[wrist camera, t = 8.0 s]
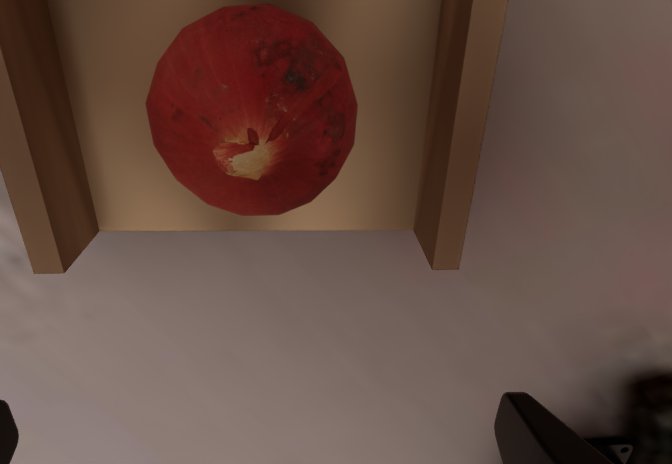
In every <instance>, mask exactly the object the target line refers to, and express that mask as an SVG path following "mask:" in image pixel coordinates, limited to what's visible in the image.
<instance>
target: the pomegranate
mask: <svg viewBox="0 0 672 464" xmlns="http://www.w3.org/2000/svg"><path fill="white" fill-rule="evenodd" d="M145 105H146V110H147V115H148V119H149V124H150V129H151V134H152V139H153V144H154V146H155V148H156V150H157V151H158V153H159V154H160V156H161V157H162V159H163V160H164V162H165V163H166V165H167V167H168V168H169V170H170V171H171V173H172V174H173V176H174V177H175V179H176V180H177V181H178V182H180V183H181V184H182V185H183V186H185V187H186V188H187V189H188V190H190V191H191V192H192V193H193V194H195V195H196V196H197V197H199V198H200V199H201V200H202V201H204V202H205V203H206V204H208V205H211V206H214V207H217V208H220V209H223V210H226V211H229V212H232V213H235V214H238V215H241V216H267V215H281V214H283V213H286V212H288V211H290V210H293V209H295V208H298V207H300V206H303V205H305V204H308V203H310V202H312V201H313V200H314V199H315V198H316V197H317V196H318V195H319V194H320V193H321V192H322V191H323V190H324V189H325V188H326V187H328V186H329V185H330V184H331V183H332V182H333V181H334V180H335V179H336V177H337V176H338V174H339V172H340V170H341V168H342V166H343V165H344V163H345V161H346V159H347V157H348V155H349V153H350V151H351V150H352V148H353V146H354V141H355V131H356V120H357V109H358V104H357V100H356V97H355V93H354V90H353V87H352V83H351V80H350V76H349V73H348V69H347V66H346V63H345V59H344V57H343V56H342V55H341V54H340V52H339V51H338V50H337V49H336V48H335V47H334V46H333V45H332V43H331V42H330V41H329V40H328V39H327V38H326V37H325V36H324V34H323V33H322V32H321V31H320V30H319V29H318V28H317V26H316V25H315V24H314V23H313V22H311V21H309V20H307V19H304V18H302V17H300V16H297V15H295V14H293V13H290V12H288V11H285V10H283V9H281V8H278V7H276V6H274V5H271V4H269V3H266V4H252V5H237V6H224V7H222V8H220V9H218V10H216V11H214V12H212V13H210V14H208V15H206V16H204V17H202V18H201V19H199V20H197V21H195V22H193V23H191V24H189V25H187V26H185V27H184V28H182V29H181V31H180V32H179V33H178V35H177V36H176V38H175V39H174V40H173V42H172V43H171V44H170V46H169V47H168V48H167V50H166V51H165V53H164V54H163V55H162V57H161V58H160V59H159V61H158V62H157V65H156V69H155V72H154V76H153V79H152V82H151V86H150V89H149V93H148V96H147V100H146V103H145Z"/></svg>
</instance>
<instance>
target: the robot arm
mask: <svg viewBox="0 0 672 464" xmlns="http://www.w3.org/2000/svg"><path fill="white" fill-rule="evenodd" d="M494 430H495V436H496V440H497V444H498V447H499V451H500V455H501V458H502V462H503V464H626V462H627V460H628V458H629V456H630V454H631V452H632V450H633V447H632V445H631V444H630V442H629V441H628V440H627V439H602V440H584V439H583V438H581V437H580V436H579V435H578V434H577V433H575V432H574V431H573V430H572V429H570V428H569V427H568V426H567V425H566V424H564V423H563V422H562V421H561V420H559V419H558V418H557V417H556V416H555V415H553V414H552V413H551V412H550V411H548V410H547V409H546V408H545V407H544V406H542V405H541V404H540V403H539V402H538V401H536V400H535V399H534V398H533V397H531V396H530V395H529V394H527V393H525V392H506V393H504V394H503V395H502V398H501V401H500V405H499V408H498V412H497V415H496V419H495V424H494ZM18 438H19V434H18V429H17V426H16V424H15V421H14V419H13V416H12V413H11V411H10V408H9V405H8V404H7V403H6V402H5V401H4V400H0V464H10V461H11V459H12V457H13V454H14V452H15V449H16V447H17V443H18Z"/></svg>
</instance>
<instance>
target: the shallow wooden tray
mask: <svg viewBox="0 0 672 464" xmlns="http://www.w3.org/2000/svg"><path fill="white" fill-rule="evenodd" d="M266 3H269V4H271V5H274V6H276V7H278V8H281V9H283V10H285V11H288V12H290V13H293V14H295V15H297V16H300V17H302V18H304V19H307V20H309V21H311V22H313V23H314V24H315V25H316V26H317V28H318V29H319V30H320V31H321V32H322V33H323V34H324V36H325V37H326V38H327V39H328V40H329V41H330V42H331V43H332V45H333V46H334V47H335V48H336V49H337V50H338V51H339V52H340V54H341V55H342V56H343V57H344V59H345V63H346V66H347V69H348V73H349V76H350V80H351V83H352V87H353V90H354V93H355V97H356V100H357V104H358V109H357V120H356V131H355V141H354V146H353V148H352V150H351V151H350V153H349V155H348V157H347V159H346V161H345V163H344V165H343V166H342V168H341V170H340V172H339V174H338V176H337V177H336V179H335V180H334V181H333V182H332V183H331V184H330V185H329V186H328V187H326V188H325V189H324V190H323V191H322V192H321V193H320V194H319V195H318V196H317V197H316V198H315V199H314V200H313V201H312V202H310V203H308V204H305V205H303V206H300V207H298V208H295V209H293V210H290V211H288V212H286V213H283V214H281V215H267V216H241V215H238V214H235V213H232V212H229V211H226V210H223V209H220V208H217V207H214V206H211V205H208V204H206V203H205V202H204V201H202V200H201V199H200V198H199V197H197V196H196V195H195V194H193V193H192V192H191V191H190V190H188V189H187V188H186V187H185V186H183V185H182V184H181V183H180V182H178V181H177V180H176V179H175V177H174V176H173V174H172V173H171V171H170V170H169V168H168V167H167V165H166V163H165V162H164V160H163V159H162V157H161V156H160V154H159V153H158V151H157V150H156V148H155V146H154V144H153V139H152V134H151V129H150V124H149V119H148V115H147V110H146V105H145V103H146V100H147V96H148V93H149V89H150V86H151V82H152V79H153V76H154V72H155V69H156V65H157V62H158V61H159V59H160V58H161V57H162V55H163V54H164V53H165V51H166V50H167V48H168V47H169V46H170V44H171V43H172V42H173V40H174V39H175V38H176V36H177V35H178V33H179V32H180V31H181V29H182V28H184V27H185V26H187V25H189V24H191V23H193V22H195V21H197V20H199V19H201V18H202V17H204V16H206V15H208V14H210V13H212V12H214V11H216V10H218V9H220V8H222V7H224V6H237V5H252V4H266ZM507 3H508V0H0V168H1V171H2V175H3V178H4V181H5V184H6V187H7V190H8V194H9V197H10V200H11V203H12V206H13V209H14V212H15V216H16V219H17V222H18V225H19V228H20V231H21V234H22V238H23V241H24V244H25V247H26V250H27V253H28V257H29V260H30V263H31V266H32V269H33V272H34V274H59V273H65V272H66V271H67V269H68V268H69V267H70V266H71V265H72V263H73V262H74V261H75V260H76V259H77V257H78V256H79V255H80V254H81V253H82V251H83V250H84V249H85V248H86V247H87V245H88V244H89V243H90V242H91V241H92V239H93V238H94V237H95V236H96V235H97V233H98V232H99V231H259V230H414V232H415V234H416V237H417V239H418V241H419V243H420V245H421V247H422V249H423V251H424V253H425V255H426V258H427V260H428V262H429V264H430V266H431V268H432V270H459V266H460V261H461V255H462V250H463V244H464V239H465V233H466V228H467V222H468V217H469V211H470V206H471V200H472V195H473V189H474V184H475V178H476V173H477V167H478V162H479V157H480V151H481V146H482V140H483V135H484V129H485V124H486V118H487V113H488V107H489V102H490V96H491V91H492V85H493V80H494V74H495V69H496V63H497V58H498V52H499V47H500V41H501V36H502V30H503V25H504V19H505V14H506V8H507Z"/></svg>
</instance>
